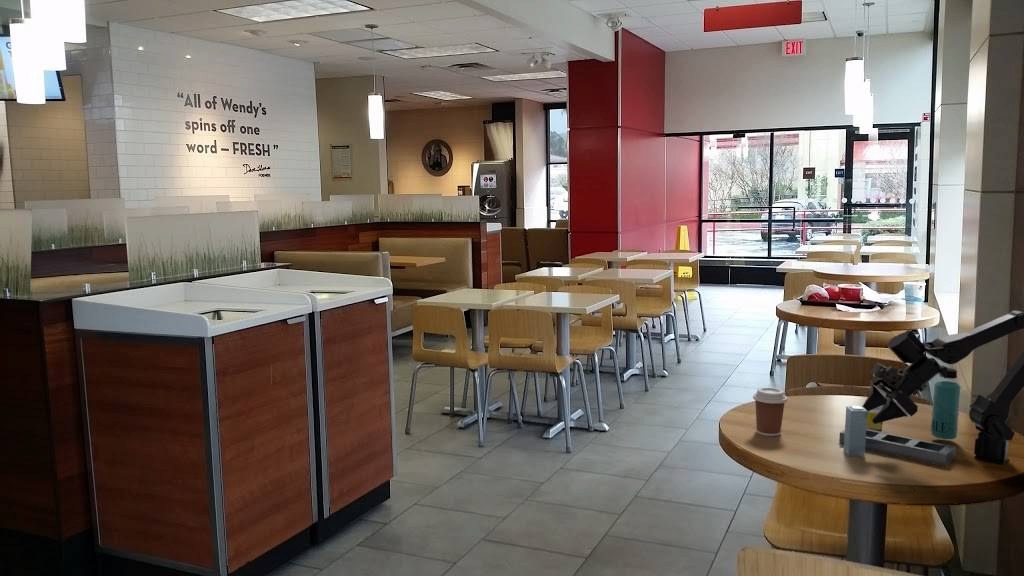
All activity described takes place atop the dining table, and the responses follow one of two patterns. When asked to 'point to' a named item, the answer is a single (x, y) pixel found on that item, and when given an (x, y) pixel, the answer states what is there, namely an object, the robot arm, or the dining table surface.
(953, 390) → the beverage bottle
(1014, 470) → the dining table surface
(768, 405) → the coffee cup
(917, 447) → the grey slotted rack
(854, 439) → the light blue tall block
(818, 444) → the dining table surface
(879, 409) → the supplement bottle
